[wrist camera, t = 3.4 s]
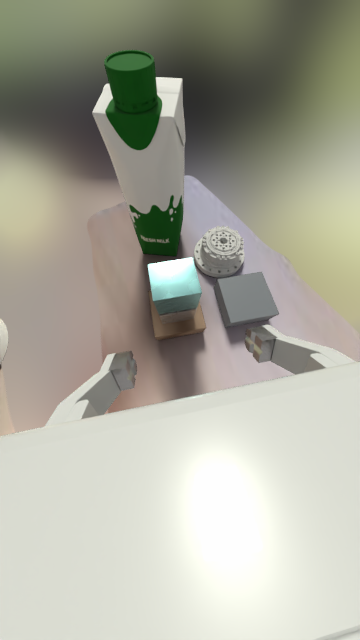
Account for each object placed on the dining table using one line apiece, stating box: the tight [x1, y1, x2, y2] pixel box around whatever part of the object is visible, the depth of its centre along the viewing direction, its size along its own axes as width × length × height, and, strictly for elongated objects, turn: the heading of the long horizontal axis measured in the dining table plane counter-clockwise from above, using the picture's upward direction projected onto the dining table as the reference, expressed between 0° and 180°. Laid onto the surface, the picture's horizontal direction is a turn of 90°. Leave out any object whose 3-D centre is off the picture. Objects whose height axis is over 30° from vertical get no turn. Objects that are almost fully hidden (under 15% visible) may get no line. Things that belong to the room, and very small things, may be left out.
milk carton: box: [92, 50, 185, 256], centre depth 22 cm, size 9×9×20 cm
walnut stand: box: [148, 291, 206, 340], centre depth 25 cm, size 8×8×3 cm
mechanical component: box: [194, 226, 244, 278], centre depth 28 cm, size 10×4×10 cm
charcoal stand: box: [214, 272, 279, 328], centre depth 26 cm, size 8×8×3 cm
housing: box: [148, 257, 202, 324], centre depth 19 cm, size 5×4×9 cm
